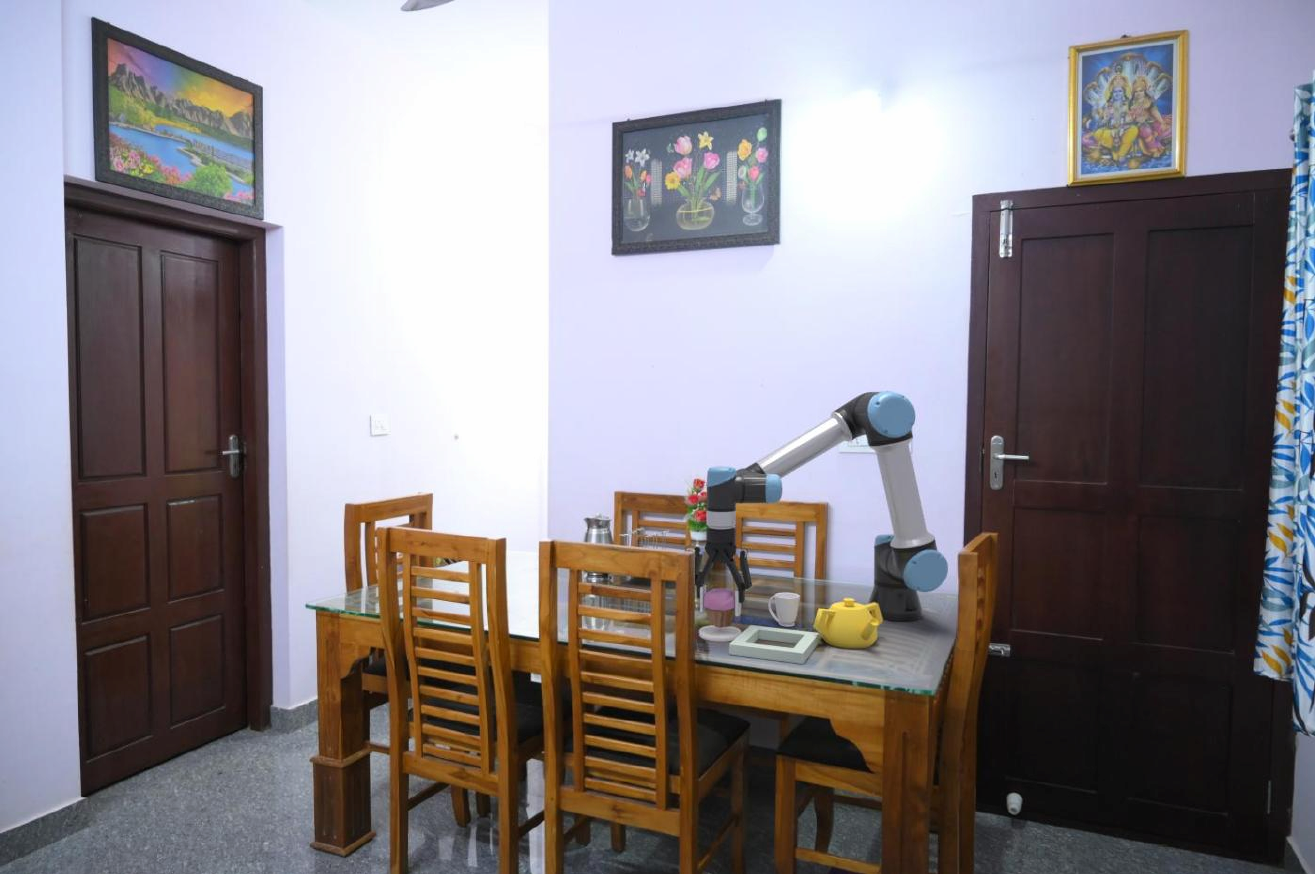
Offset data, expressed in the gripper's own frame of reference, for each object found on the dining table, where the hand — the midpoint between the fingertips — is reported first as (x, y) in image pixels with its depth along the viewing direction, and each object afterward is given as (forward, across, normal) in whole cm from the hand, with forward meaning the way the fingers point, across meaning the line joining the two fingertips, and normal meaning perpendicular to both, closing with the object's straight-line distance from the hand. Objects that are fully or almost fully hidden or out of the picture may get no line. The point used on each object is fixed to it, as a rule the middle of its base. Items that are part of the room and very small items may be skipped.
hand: (720, 612), depth 213 cm
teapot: (+6, -33, -7) cm, 34 cm away
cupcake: (+4, 0, 0) cm, 4 cm away
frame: (+6, -16, +5) cm, 18 cm away
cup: (+6, -12, -18) cm, 23 cm away
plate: (+6, 0, 0) cm, 6 cm away
